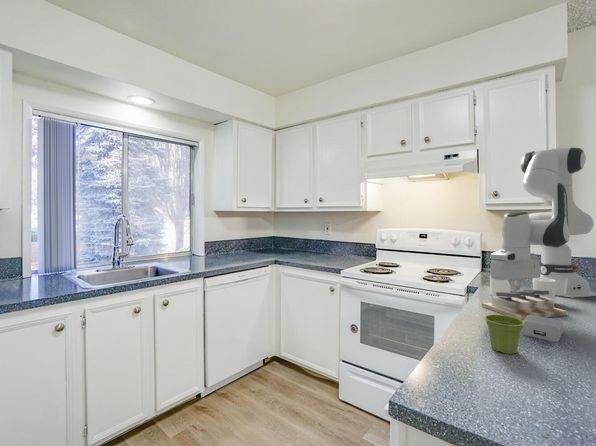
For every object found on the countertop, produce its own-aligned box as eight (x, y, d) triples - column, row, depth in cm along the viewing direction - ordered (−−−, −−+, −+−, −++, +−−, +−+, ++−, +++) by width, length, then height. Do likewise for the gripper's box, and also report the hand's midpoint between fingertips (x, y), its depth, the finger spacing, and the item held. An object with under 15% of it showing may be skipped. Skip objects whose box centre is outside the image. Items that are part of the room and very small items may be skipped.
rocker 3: (529, 292, 128) (528, 289, 128) (549, 294, 120) (548, 290, 120) (523, 293, 127) (523, 289, 127) (543, 294, 119) (542, 290, 119)
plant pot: (477, 342, 92) (477, 314, 92) (509, 342, 92) (509, 314, 92) (497, 357, 83) (497, 325, 83) (532, 357, 82) (533, 325, 82)
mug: (491, 271, 149) (521, 274, 142) (491, 292, 150) (521, 296, 142) (489, 274, 143) (520, 277, 135) (489, 296, 143) (520, 300, 136)
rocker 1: (502, 295, 124) (501, 291, 124) (520, 296, 116) (520, 292, 117) (496, 295, 123) (495, 292, 124) (514, 297, 116) (513, 293, 116)
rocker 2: (516, 294, 126) (515, 290, 126) (535, 295, 118) (534, 291, 118) (510, 294, 125) (509, 290, 125) (529, 296, 117) (528, 292, 118)
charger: (564, 329, 102) (559, 343, 92) (530, 323, 109) (521, 335, 98) (564, 315, 102) (559, 327, 91) (530, 309, 109) (521, 320, 98)
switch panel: (523, 302, 133) (523, 289, 133) (566, 314, 116) (566, 299, 116) (481, 306, 127) (481, 293, 127) (520, 320, 111) (520, 304, 111)
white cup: (560, 305, 128) (560, 281, 128) (538, 304, 129) (538, 281, 129) (548, 300, 136) (548, 277, 135) (528, 299, 137) (528, 277, 137)
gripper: (529, 252, 122) (528, 286, 122) (487, 254, 117) (487, 290, 117) (545, 254, 116) (545, 290, 116) (501, 256, 111) (501, 294, 111)
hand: (515, 290), depth 117 cm, fingers closed
